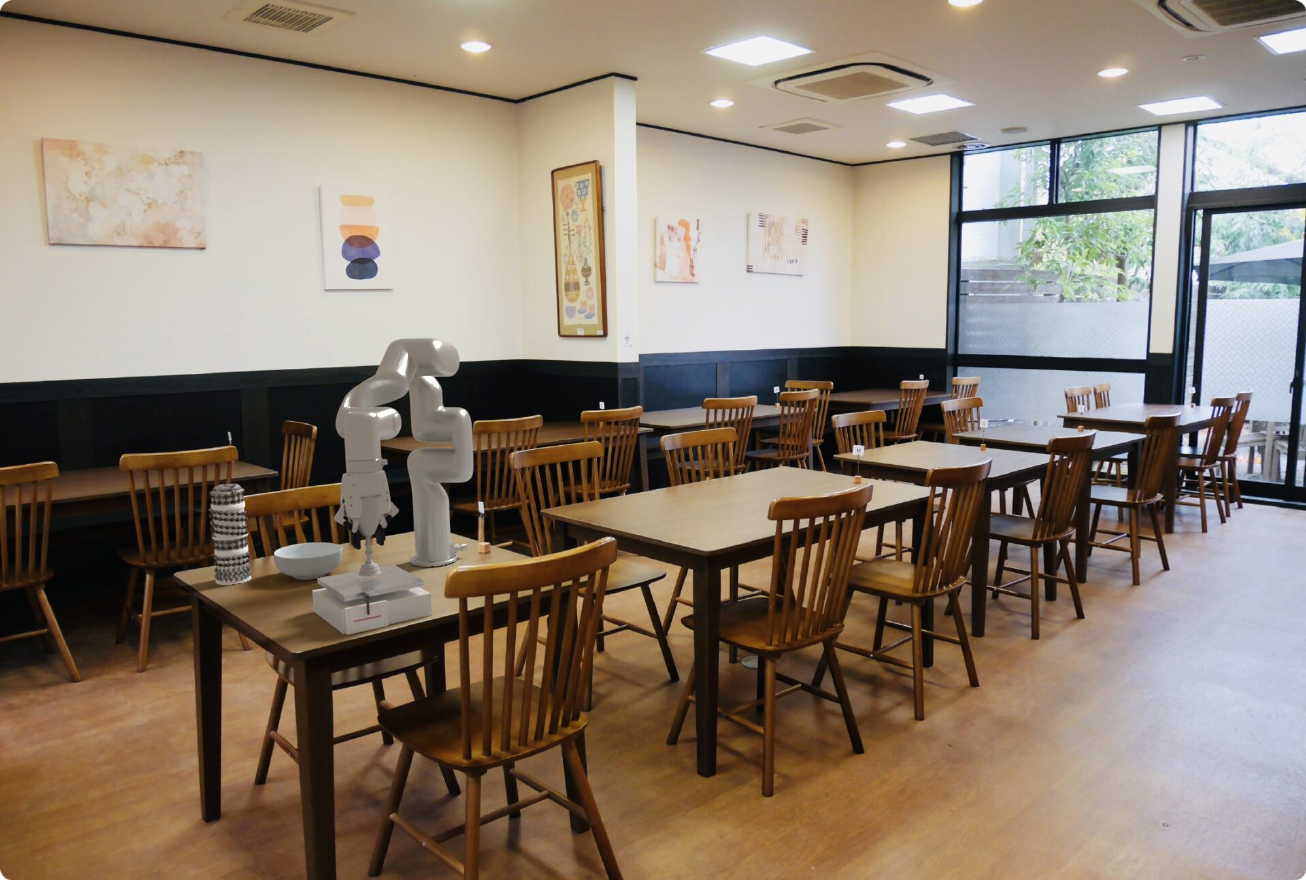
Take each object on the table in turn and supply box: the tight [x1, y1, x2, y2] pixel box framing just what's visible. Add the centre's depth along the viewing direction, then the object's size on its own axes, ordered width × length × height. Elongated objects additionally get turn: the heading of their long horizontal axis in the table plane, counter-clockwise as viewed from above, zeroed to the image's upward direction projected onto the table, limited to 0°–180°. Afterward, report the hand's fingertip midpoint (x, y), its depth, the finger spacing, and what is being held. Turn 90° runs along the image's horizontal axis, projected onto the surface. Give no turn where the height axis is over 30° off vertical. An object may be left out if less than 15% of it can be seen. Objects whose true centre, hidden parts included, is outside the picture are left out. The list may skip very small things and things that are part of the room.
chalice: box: [358, 495, 382, 577], centre depth 208 cm, size 7×7×18 cm
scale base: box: [311, 587, 433, 635], centre depth 209 cm, size 20×21×6 cm
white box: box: [316, 564, 425, 615], centre depth 208 cm, size 18×21×6 cm
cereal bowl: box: [273, 542, 344, 581], centre depth 242 cm, size 17×17×7 cm
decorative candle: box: [207, 483, 252, 586], centre depth 237 cm, size 9×9×25 cm
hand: (368, 545), depth 208 cm, fingers closed on chalice, 4 cm apart
